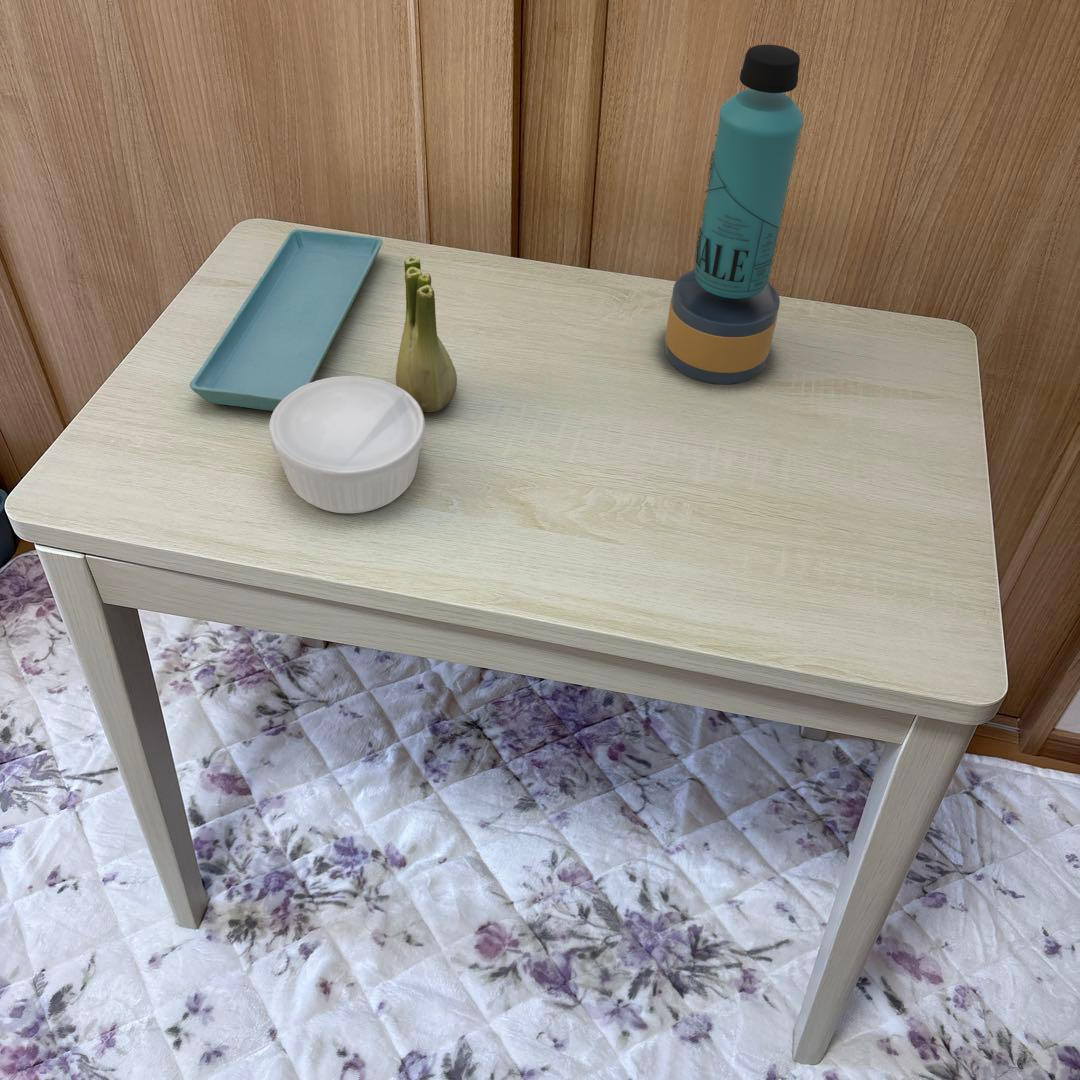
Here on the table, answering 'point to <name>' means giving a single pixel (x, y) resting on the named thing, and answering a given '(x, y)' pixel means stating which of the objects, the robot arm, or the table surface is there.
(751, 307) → the tin can
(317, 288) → the shallow long dish
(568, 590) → the table surface
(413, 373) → the fennel bulb
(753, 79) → the beverage bottle
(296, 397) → the ramekin
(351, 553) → the table surface
